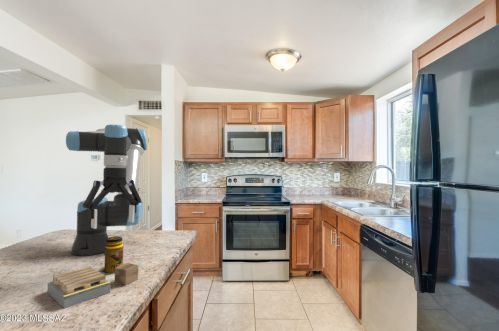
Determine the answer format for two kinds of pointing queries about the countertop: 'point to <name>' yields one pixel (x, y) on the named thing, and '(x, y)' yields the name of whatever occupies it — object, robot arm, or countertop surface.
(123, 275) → the brown cube
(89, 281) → the pallet
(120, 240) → the condiment
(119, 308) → the countertop surface
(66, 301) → the dock
